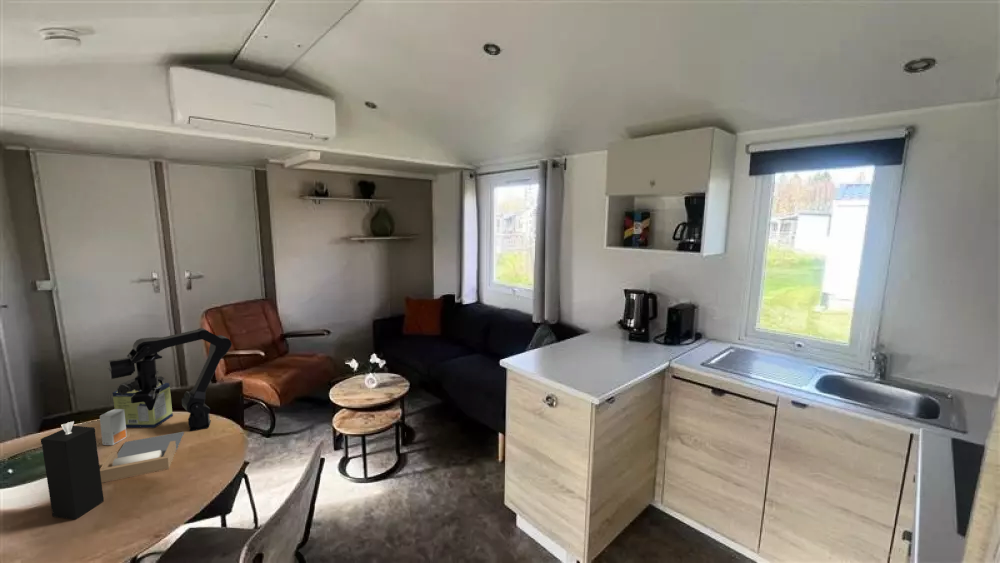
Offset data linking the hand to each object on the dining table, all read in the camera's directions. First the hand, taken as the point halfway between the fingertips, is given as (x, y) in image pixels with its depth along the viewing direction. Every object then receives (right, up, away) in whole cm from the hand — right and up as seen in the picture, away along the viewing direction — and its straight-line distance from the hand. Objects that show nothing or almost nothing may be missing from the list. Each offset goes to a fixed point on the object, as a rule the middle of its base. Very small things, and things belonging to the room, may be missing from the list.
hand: (150, 409), depth 156 cm
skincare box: (-15, -13, +1) cm, 19 cm away
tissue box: (+8, -19, -35) cm, 41 cm away
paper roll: (+9, -13, -16) cm, 22 cm away
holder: (+5, -14, -7) cm, 17 cm away
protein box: (-16, -10, +16) cm, 25 cm away
